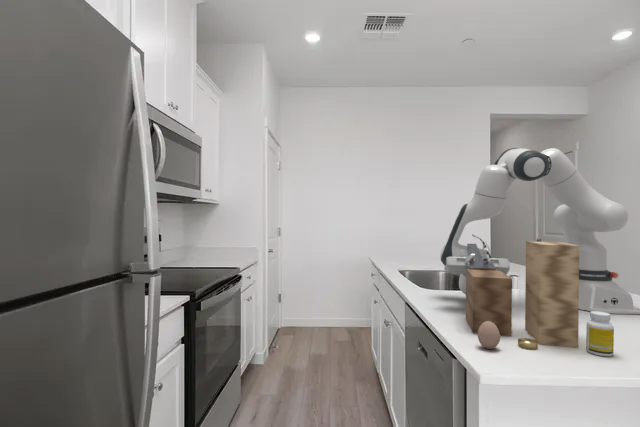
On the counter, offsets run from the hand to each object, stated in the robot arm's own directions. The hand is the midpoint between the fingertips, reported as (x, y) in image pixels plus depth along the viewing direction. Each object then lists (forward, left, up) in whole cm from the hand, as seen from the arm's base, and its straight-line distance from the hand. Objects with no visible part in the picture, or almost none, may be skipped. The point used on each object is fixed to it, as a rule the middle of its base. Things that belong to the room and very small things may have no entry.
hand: (479, 256), depth 125 cm
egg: (+2, +31, -20) cm, 37 cm away
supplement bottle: (-24, +27, -20) cm, 41 cm away
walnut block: (-1, +11, -20) cm, 23 cm away
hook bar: (0, -8, -3) cm, 8 cm away
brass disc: (-8, +27, -20) cm, 35 cm away
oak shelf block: (-16, +18, -20) cm, 31 cm away
